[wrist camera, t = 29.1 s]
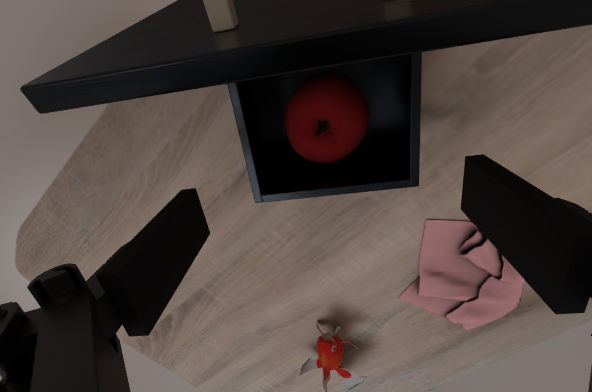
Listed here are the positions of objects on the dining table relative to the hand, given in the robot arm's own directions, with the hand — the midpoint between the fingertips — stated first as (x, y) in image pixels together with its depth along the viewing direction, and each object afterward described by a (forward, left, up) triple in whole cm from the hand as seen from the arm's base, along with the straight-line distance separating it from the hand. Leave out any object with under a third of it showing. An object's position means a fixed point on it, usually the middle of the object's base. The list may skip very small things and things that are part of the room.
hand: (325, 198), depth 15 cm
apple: (0, 0, -24) cm, 24 cm away
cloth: (+29, -14, -25) cm, 40 cm away
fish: (+17, -37, -25) cm, 48 cm away
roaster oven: (-1, +3, -24) cm, 25 cm away
